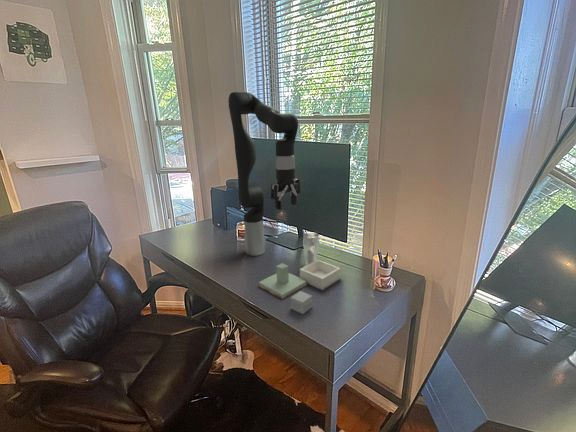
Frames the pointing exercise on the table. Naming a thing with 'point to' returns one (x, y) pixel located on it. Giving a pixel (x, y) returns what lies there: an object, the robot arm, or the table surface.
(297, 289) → the mat
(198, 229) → the table surface
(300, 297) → the small box
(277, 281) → the lid
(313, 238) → the beer glass
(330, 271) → the open square box
